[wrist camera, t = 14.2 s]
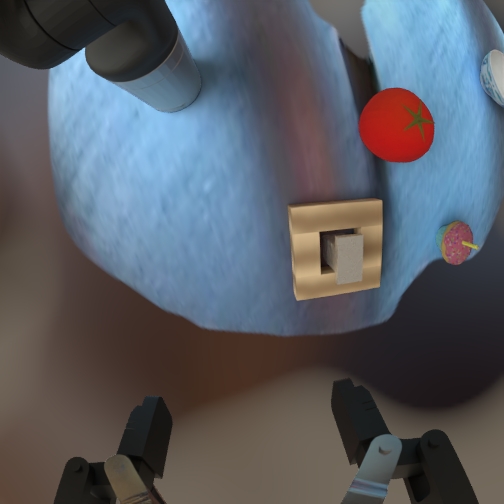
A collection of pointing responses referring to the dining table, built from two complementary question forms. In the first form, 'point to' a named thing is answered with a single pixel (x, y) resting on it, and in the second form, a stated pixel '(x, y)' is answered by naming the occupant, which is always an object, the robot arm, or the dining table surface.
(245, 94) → the dining table surface
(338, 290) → the well block
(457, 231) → the cupcake
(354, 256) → the grey stepped wood block
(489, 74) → the chinaware
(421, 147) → the tomato
